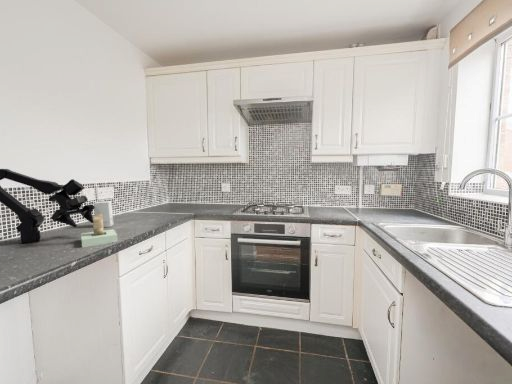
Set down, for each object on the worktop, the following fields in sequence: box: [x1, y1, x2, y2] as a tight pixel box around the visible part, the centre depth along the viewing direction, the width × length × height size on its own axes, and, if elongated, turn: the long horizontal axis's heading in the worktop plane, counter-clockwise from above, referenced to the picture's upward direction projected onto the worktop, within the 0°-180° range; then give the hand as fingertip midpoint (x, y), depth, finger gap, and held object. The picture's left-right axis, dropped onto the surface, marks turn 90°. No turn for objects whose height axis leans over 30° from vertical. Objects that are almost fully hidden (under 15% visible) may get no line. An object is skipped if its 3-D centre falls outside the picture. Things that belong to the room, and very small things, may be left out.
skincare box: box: [92, 200, 114, 228], centre depth 145 cm, size 8×7×16 cm
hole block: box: [80, 228, 119, 248], centre depth 115 cm, size 14×14×4 cm
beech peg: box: [92, 214, 105, 236], centre depth 115 cm, size 4×4×13 cm
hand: (85, 224), depth 116 cm, fingers open, 9 cm apart
